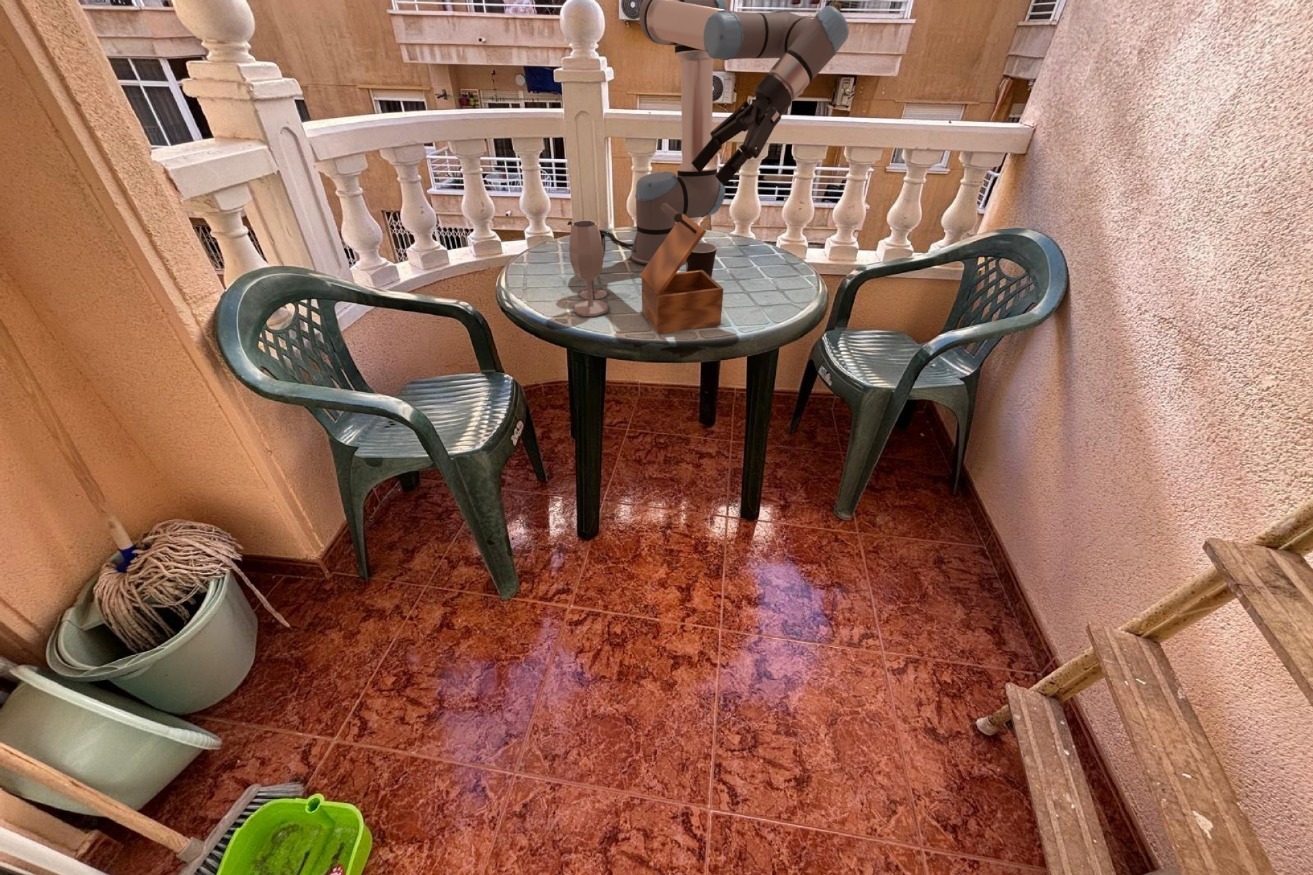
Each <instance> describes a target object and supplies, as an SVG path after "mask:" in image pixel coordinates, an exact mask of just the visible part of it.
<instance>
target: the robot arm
mask: <svg viewBox="0 0 1313 875" xmlns="http://www.w3.org/2000/svg"><path fill="white" fill-rule="evenodd" d="M638 18H639V19H638V20H639V26H640V29H641V31H642V34H643V35H644V36H645V37H646V38H647V39H648V40H649V41H650V42H652V43H654V44H657V45H663V46H674V55H675V57H676V58H677V60H678V61H679V62H680V96H681V99H680V100H681V102H680V103H681V107H680V108H681V154H682V155H681V156H682V157H681V158H682V160H681V163H680V165H679V166H678V167H677V175H676V173H675V172H672V171H656V172H651V173H648V174H645V175H643V176H641V177H639V179H638V180H637V181H636V184H635V212H636V214H635V216H636V218H635V219H636V234H635V237H634V240H633V243H627V242H623V241H621V240H619V239H617V238H616V237H615V235H614V234H613V233H611V232H610V231H606V230H601V229H599V231H600V233H602V234H604V235H607V236H610V237H611V239H612V240H613V241H614V242H615V243H616V244H619V245H621V246H624V247H628V248H631V256H630V257H631V260H632V261H633V262H635V263H637V264H638V265H639V264H640V265H643V266H647V264H648V263H649V261H650V260H651V258H652V257H653V256H654V254H655V253H656V251H657V250H658V248H659V247H660V246H661V244H662V243H663V241H664V240H665V238H666V237H667V236H668V234H669V233H670V231H671V230H672V228H673V227H674V226H675V224H676V223H677V222H675V221H674V220H673V219H672V218H670V217H669V216H668V215H667V214H665V213H664V212H663V211H662V210H661V205H662V204H663V203H667V204H668V205H669V206H671V207H672V208H673V209H675V210H676V211H677V212H679V213H680V214H681V215H682V214H684V215H686V216H687V217H688V218H690V219H695V218H696V219H697V218H705V217H708V216H713V215H715V214H716V213H718V211H719V210H720V209H721V208H722V206H723V203H724V201H725V200H724V199H725V194H726V185H727V184H728V182H730V181H731V179H732V178H733V177H734V176H735V174H736V173H737V172H738V171H739V170H740V169H741V167H743V165H744V164H745V163H746V162H747V161H748V160H751V159H752V158H754V159H758V157H759V156H760V155H761V152H762V151H763V149H764V147H765V146H766V143H767V142H768V140H769V138H770V137H771V134H772V133H773V131H774V129H775V127H776V126H777V125H778V123H779V122H780V121H781V119H782V116H783V115H784V114H785V113H786V111H787V110H788V109H789V108H790V107H791V105H792V104H793V101H795V100H797V99H798V98H799V96H801V95H803V93H804V90H805V89H806V88H807V87H808V85H809V84H810V83H811V82H813V81H814V79H815V78H816V77H817V76H818V75H819V73H820V72H821V71H822V70H823V69H824V68H825V66H826V65H827V64H828V63H830V61H831V60H832V59H833V58H834V56H836V55H837V53H838V52H839V50H840V49H841V47H842V46H843V45H844V44H845V42H846V41H847V40H848V37H849V35H850V29H849V25H848V22H847V20H846V18H845V16H844V15H843V14H842V12H841V11H840V10H839V9H838V8H836V7H834V6H832V5H826V6H824V7H822V8H821V9H820V10H819V11H818V12H817V13H816V14H815V16H814V17H813V18H812V17H806V16H803V15H799V14H795V13H793V12H791V11H789V10H779V9H774V10H771V11H770V12H746V11H745V12H744V11H735V10H729V9H728V5H727V1H726V0H643V1H642V3H641V5H640V8H639V13H638ZM742 59H743V60H745V59H752V60H754V59H778V60H777V61H776V62H775V64H774V65H773V66H772V67H771V68H770V69H769V72H768V73H769V74H766V75H765V76H764V77H763V78H762V79H761V81H760V82H759V83H758V84H757V85H756V87H755V88H754V96H755V100H754V101H753V102H752V103H749V101H748V100H745V101H743V102H742V104H740V106H739V107H738V108H737V109H736V110H735V111H733V112H732V113H731V114H730V115H728V117H726V118H725V119H724V120H723V121H722V122H721V123H720V124H718V125H717V126H716V127H715V128H713V105H714V104H713V102H714V101H713V100H714V99H713V98H714V96H713V93H714V92H713V91H714V90H713V89H714V86H713V85H714V60H721V61H729V60H742ZM742 132H746V134H745V137H744V140H743V143H742V144H741V145H738V148H737V149H736V150H735V152H733V154H732V155H731V156H730V158H729V159H728V160H726V162H725V163H724V165H722V167H721V168H720V169H719V170H718V166H717V165H716V164H715V163H714V162H713V158H715V156H716V155H717V153H719V151H720V150H722V149H723V145H724V144H725V143H727V142H728V141H730V140H732V138H734V137H736V136H737V135H739V134H740V133H742ZM572 222H573V221H571V220H569V221H568V222H567V224H566V225H567V226H570V227H571V226H572ZM607 232H608V233H607Z"/></svg>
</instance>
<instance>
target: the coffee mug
mask: <svg viewBox="0 0 1313 875" xmlns="http://www.w3.org/2000/svg"><path fill="white" fill-rule="evenodd" d="M717 247H718V246H716V245H715V244H713V243H710V242H704V241H703V242H702V241H699V242H698V244H697V245H696V247H695V248H694V249H693V251H692V252H691V253H690V255H689V256H688V258H687V259H686V260H685V272H689V271H697V270H703V271H704V272H705V273H707V274H708V275H709V276H710V277H711V278H713V273H714V272H713V271H714V265H715V260H716V255H717V249H718V248H717Z"/></svg>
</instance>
